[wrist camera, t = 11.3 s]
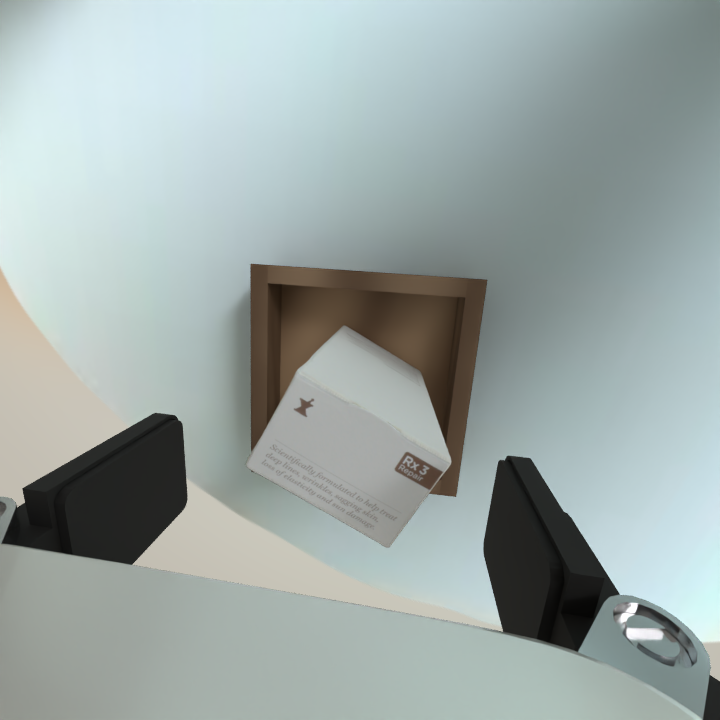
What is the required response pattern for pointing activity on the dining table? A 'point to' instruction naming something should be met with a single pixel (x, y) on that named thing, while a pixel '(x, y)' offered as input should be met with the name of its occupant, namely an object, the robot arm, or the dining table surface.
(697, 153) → the dining table surface
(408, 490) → the skincare box
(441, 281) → the walnut tray
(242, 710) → the robot arm
